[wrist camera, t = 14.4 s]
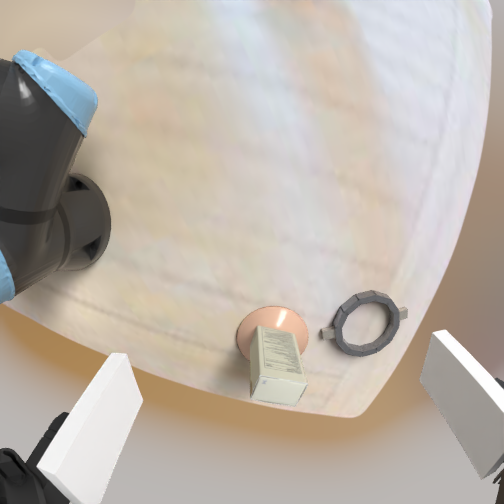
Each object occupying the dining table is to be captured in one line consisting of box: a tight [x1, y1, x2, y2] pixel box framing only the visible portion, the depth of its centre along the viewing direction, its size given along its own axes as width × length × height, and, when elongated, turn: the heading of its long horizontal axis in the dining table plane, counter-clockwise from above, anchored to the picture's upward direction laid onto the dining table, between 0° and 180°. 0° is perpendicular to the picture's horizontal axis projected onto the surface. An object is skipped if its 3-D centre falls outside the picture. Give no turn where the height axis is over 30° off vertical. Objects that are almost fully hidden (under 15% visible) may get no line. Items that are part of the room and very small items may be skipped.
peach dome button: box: [237, 306, 308, 361], centre depth 44 cm, size 11×11×1 cm
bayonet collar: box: [322, 290, 408, 357], centre depth 43 cm, size 15×11×2 cm
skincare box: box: [250, 325, 308, 407], centre depth 38 cm, size 6×4×12 cm
